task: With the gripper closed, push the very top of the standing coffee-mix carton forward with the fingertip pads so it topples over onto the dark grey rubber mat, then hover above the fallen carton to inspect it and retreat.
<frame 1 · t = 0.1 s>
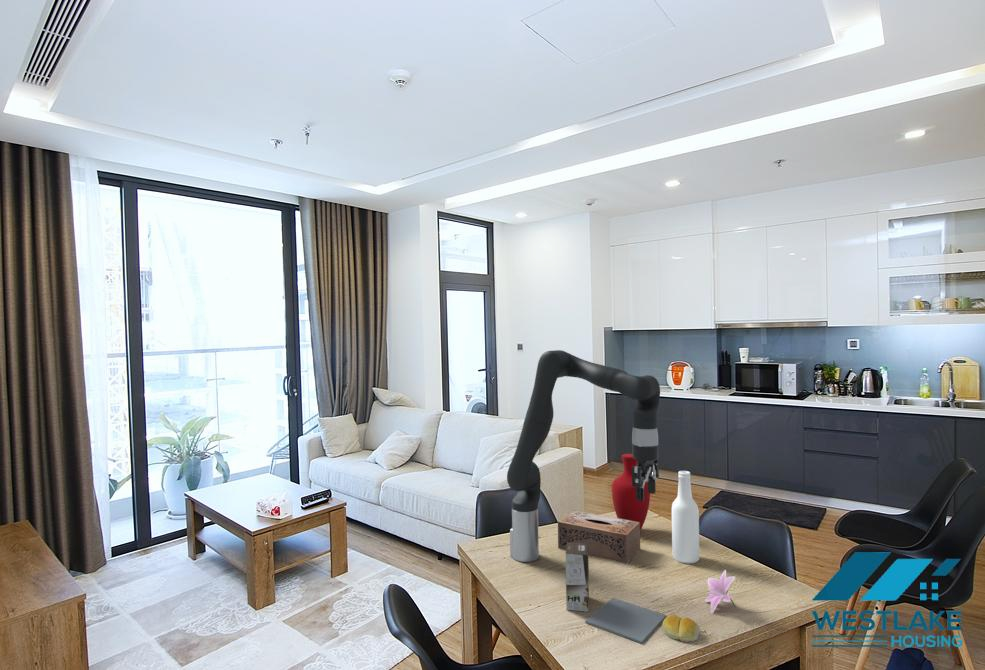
hand: (646, 496, 159), 29 cm above the table, fingers open, 8 cm apart
alcohol: (685, 559, 183), on the table
lily: (720, 607, 151), on the table
bread roll: (681, 634, 138), on the table
tissue box cover: (599, 549, 193), on the table
vase: (631, 531, 210), on the table
mat: (626, 620, 145), on the table
coffee box: (578, 603, 154), on the table
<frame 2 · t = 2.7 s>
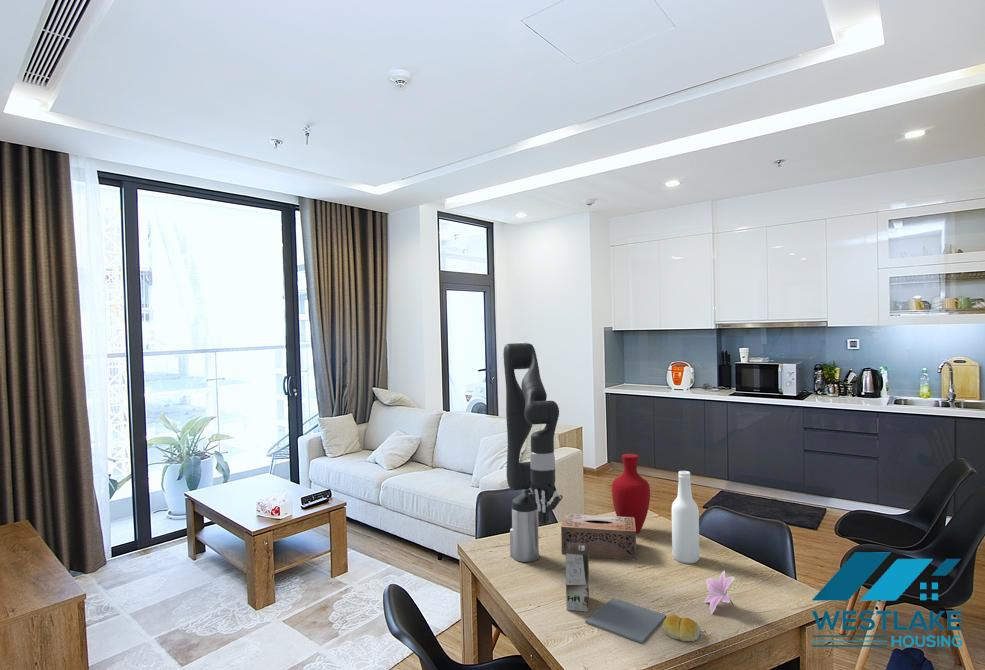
hand: (543, 523, 162), 21 cm above the table, fingers closed
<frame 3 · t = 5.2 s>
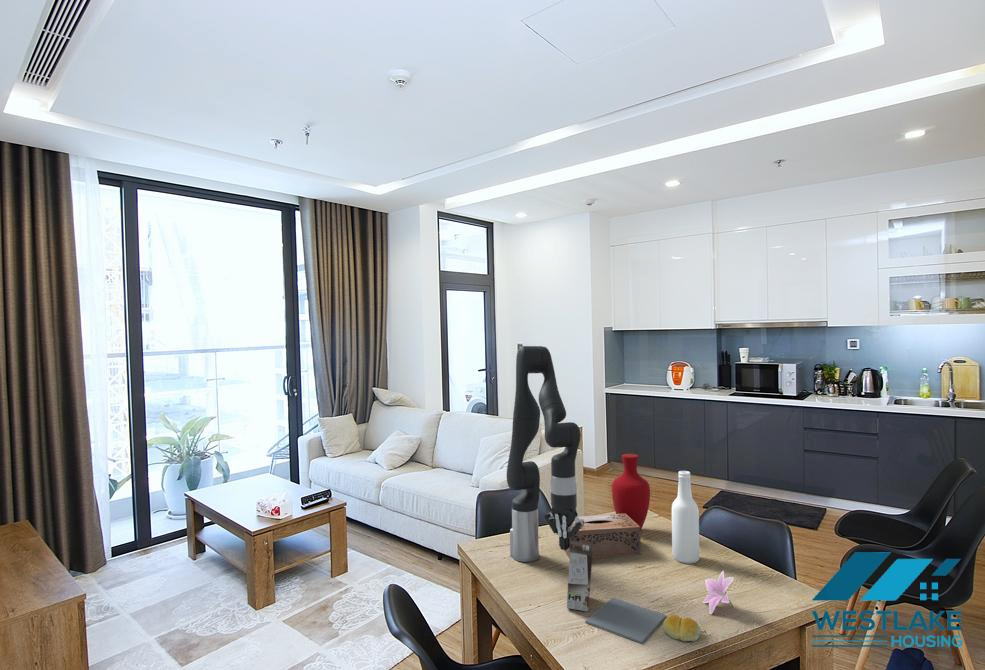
hand: (564, 549, 157), 15 cm above the table, fingers closed
coffee box: (578, 603, 154), on the table, touching gripper
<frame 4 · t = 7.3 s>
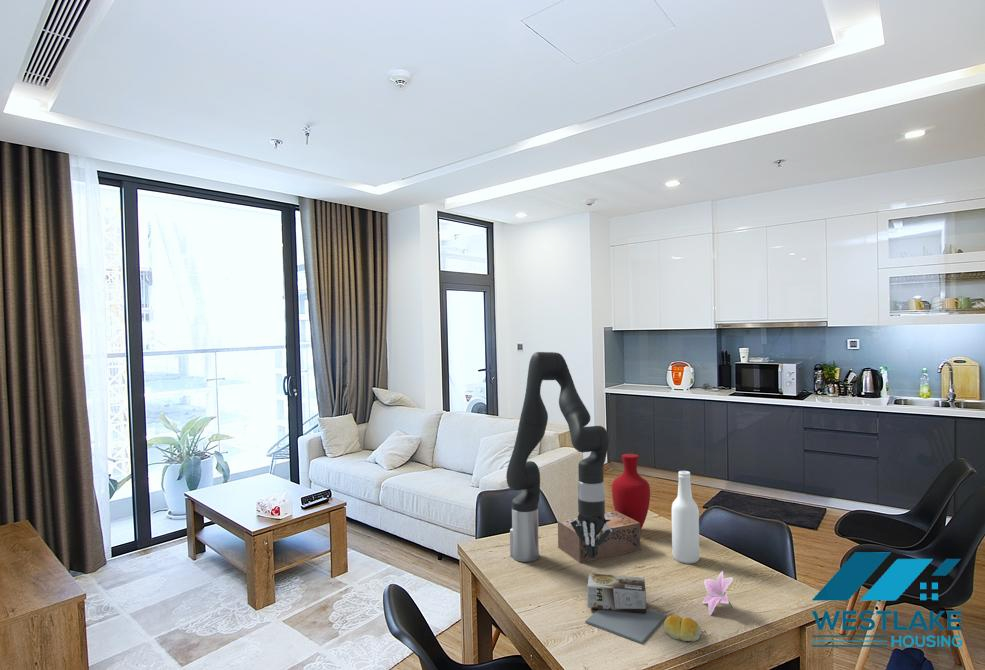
hand: (592, 557, 151), 15 cm above the table, fingers closed
coffee box: (587, 589, 154), point 4 cm above the table, touching mat
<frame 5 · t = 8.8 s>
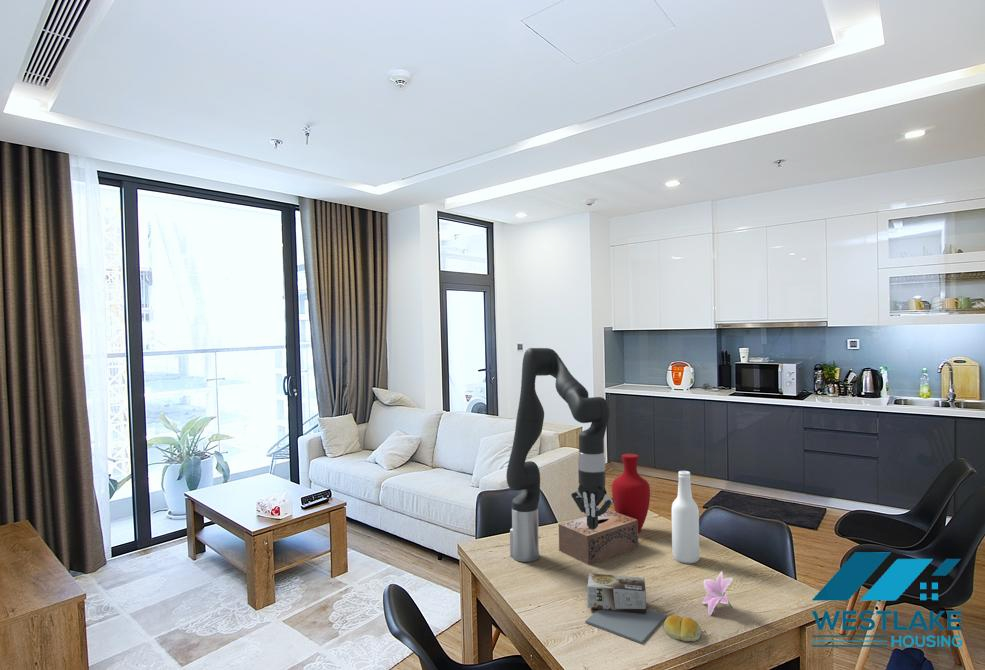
hand: (592, 528, 151), 23 cm above the table, fingers closed
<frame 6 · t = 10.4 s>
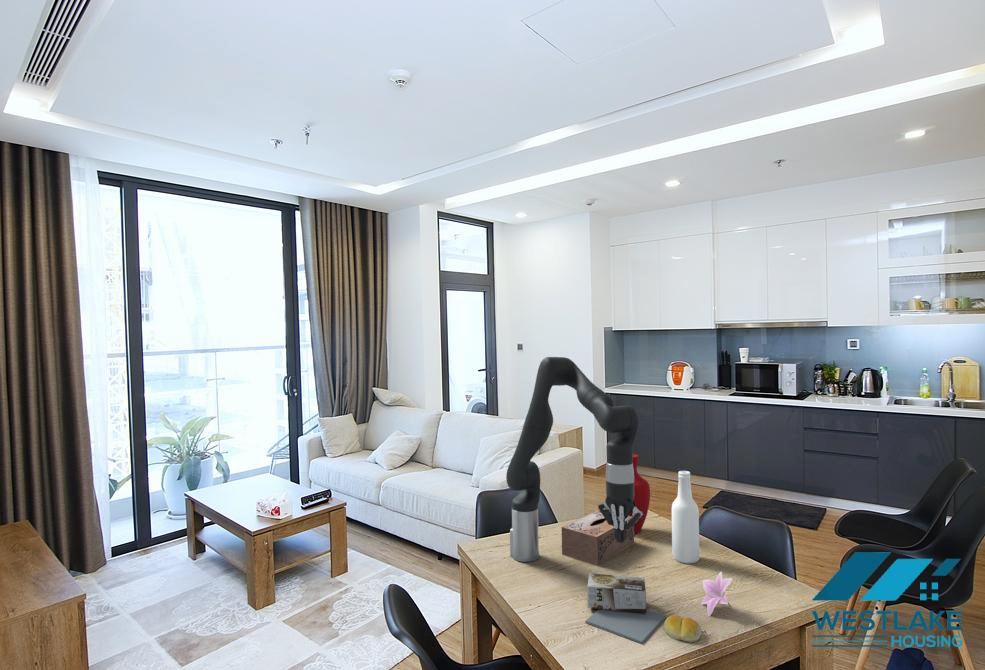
hand: (620, 542, 146), 21 cm above the table, fingers closed
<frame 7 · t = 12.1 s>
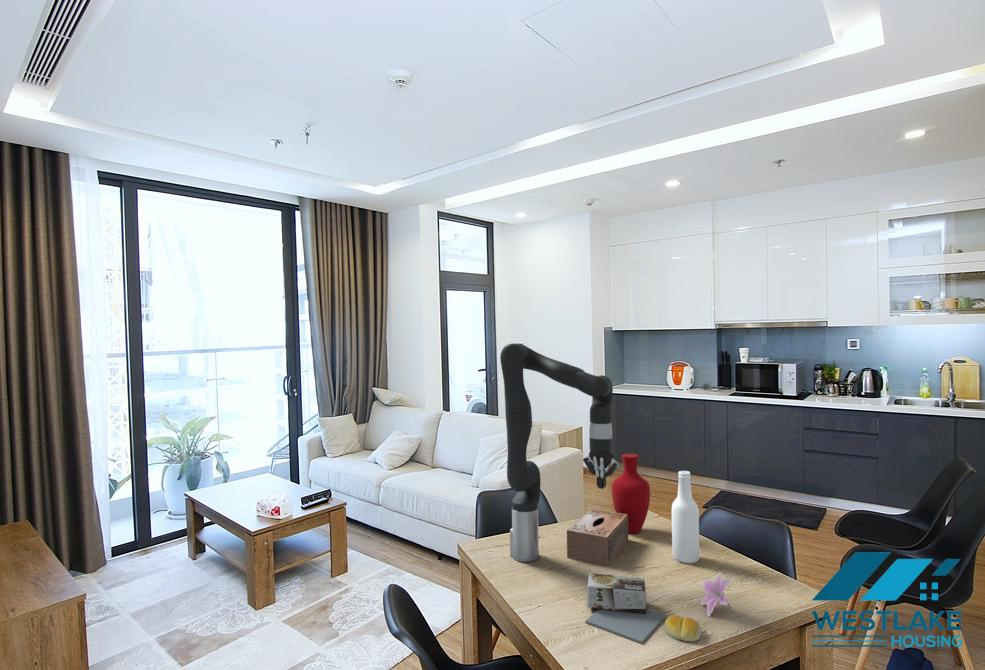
hand: (601, 488, 176), 27 cm above the table, fingers closed
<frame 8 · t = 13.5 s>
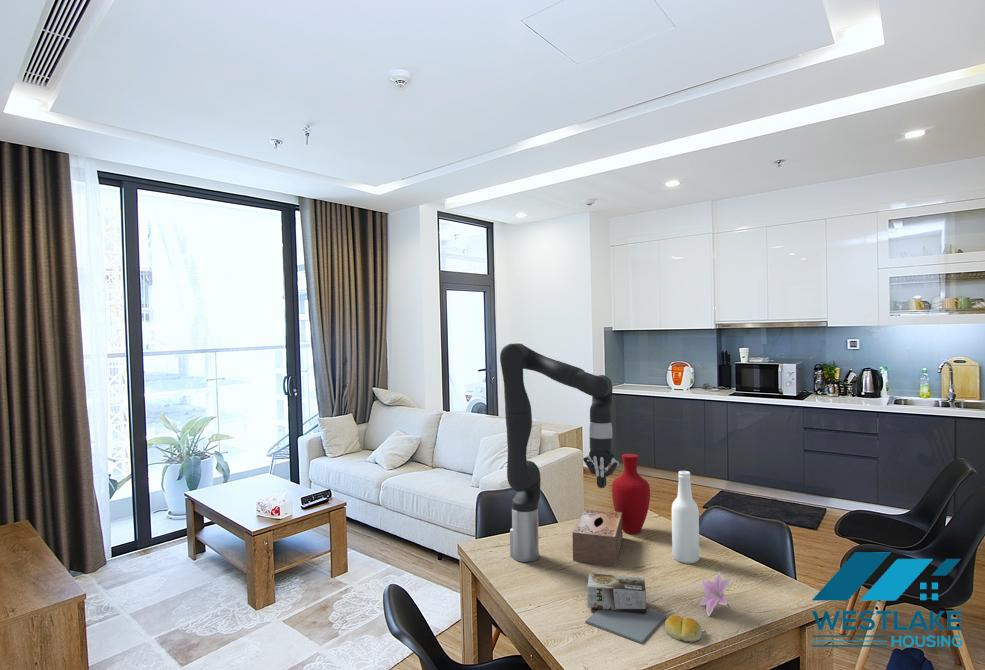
hand: (601, 487, 177), 27 cm above the table, fingers closed
at the end: coffee box tilted 90°; coffee box inside the target area on the mat (10.0 cm from its centre), point 3.8 cm above the mat's base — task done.
